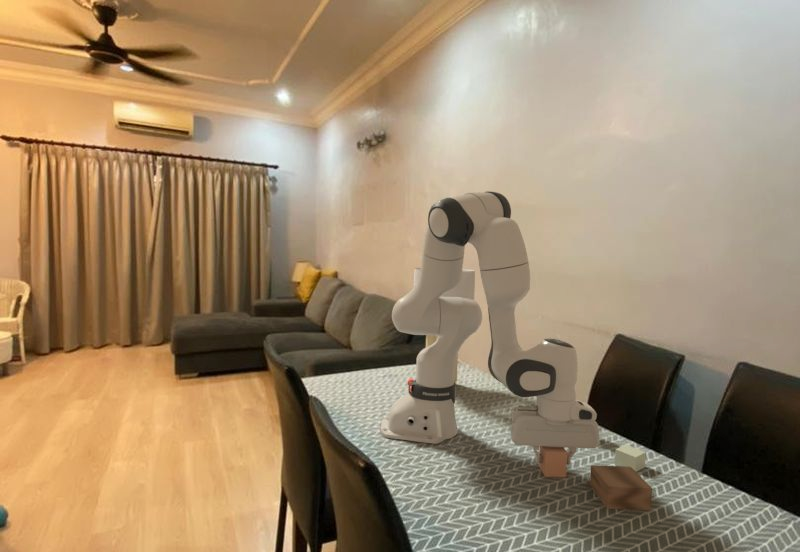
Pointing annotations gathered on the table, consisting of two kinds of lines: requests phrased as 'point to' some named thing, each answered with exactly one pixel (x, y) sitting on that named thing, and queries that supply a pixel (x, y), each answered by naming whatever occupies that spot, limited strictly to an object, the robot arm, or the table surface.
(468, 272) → the lamp
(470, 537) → the table surface
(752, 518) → the table surface
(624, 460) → the sage block
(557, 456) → the terracotta block
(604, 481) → the walnut block
